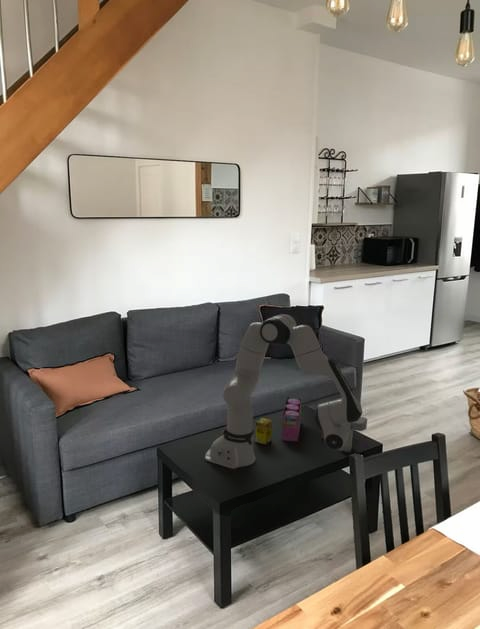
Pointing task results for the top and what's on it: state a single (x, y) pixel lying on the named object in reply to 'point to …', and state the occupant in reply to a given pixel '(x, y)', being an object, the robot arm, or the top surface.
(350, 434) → the brushed metal block
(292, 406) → the gum box
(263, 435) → the supplement box
